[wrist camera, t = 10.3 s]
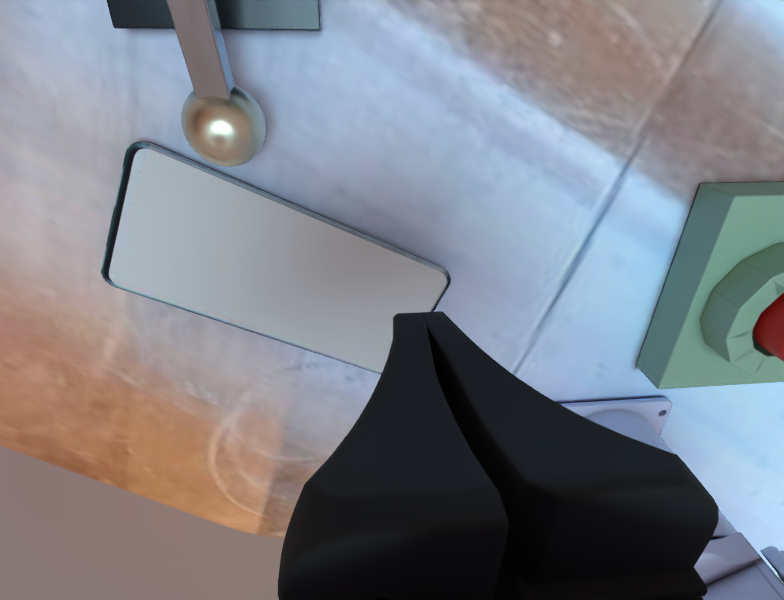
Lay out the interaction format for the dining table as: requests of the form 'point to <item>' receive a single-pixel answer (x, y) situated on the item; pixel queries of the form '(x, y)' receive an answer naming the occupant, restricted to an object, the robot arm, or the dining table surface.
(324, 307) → the smartphone
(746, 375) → the control block
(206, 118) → the switch lever
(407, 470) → the robot arm
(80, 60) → the dining table surface
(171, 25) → the switch bracket
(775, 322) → the warm button
